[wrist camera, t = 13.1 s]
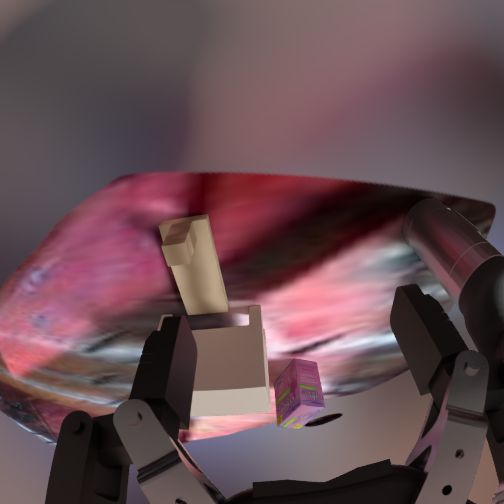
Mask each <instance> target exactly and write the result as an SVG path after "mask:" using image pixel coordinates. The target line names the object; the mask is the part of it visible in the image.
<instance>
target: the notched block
mask: <svg viewBox="0 0 504 504" xmlns="http://www.w3.org/2000/svg"><path fill="white" fill-rule="evenodd" d="M167 316H172V314H167V315H162V316H161V319H160V323H159V326H158V330H157V331H160V329H161V325H162V322H163V319H164V317H167ZM192 334H193V336H194V339H195V341H196V345H197V354H198V355H197V364H196V372H195V380H194V388H193V396H192V404H191V413H190V416H224V415H243V414H257V413H268V412H271V402H270V388H269V374H268V361H267V348H266V335H265V329H263V321H262V311H261V305H258V306H250V307H249V325H247V326H237V327H227V328H217V329H205V330H192Z"/></svg>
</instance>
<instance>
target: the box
mask: <svg viewBox="0 0 504 504" xmlns="http://www.w3.org/2000/svg"><path fill="white" fill-rule="evenodd" d="M274 388H275V399H276V414H277V426H278V427H285V428H298V429H299V428H301V427H303V426H304V425H305V424H306V423H308V422H309V421H310V420H311V419H312V418H313V417H315V416H316V415H317V414H318V413H319V412H321V411H322V410H323V409H324V408H325V403H324V398H323V392H322V387H321V382H320V377H319V372H318V367H317V363H316V362H311V361H306V360H301V359H294V360H293V361H292V363H291V364H290V365H289V366H288V368H287V369H286V370H285V371H284V372H283V374H282V375H281V376H280V377H279V378H278V380H277V381H276V382H275V383H274Z"/></svg>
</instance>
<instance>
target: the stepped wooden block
mask: <svg viewBox="0 0 504 504" xmlns="http://www.w3.org/2000/svg"><path fill="white" fill-rule="evenodd" d="M159 230H160V233H161V236H162V239H163V244H162V246H161V247H162V250H163V253H164V256H165V259H166V262H167V265H168V267H169V266H171V268H172V271H173V274H174V277H175V280H176V282H177V285H178V288H179V291H180V294H181V297H182V300H183V302H184V305H185V308H186V311H187V313H188V315H197V314H208V313H219V312H228V308H229V304H228V300H227V296H226V292H225V288H224V284H223V279H222V275H221V271H220V267H219V262H218V258H217V254H216V249H215V245H214V240H213V236H212V231H211V227H210V222H209V218H208V214H205V215H199V216H192V217H186V218H179V219H173V220H167V221H161V223H160V225H159Z"/></svg>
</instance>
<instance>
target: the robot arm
mask: <svg viewBox="0 0 504 504" xmlns="http://www.w3.org/2000/svg"><path fill="white" fill-rule="evenodd" d="M480 234H481V233H480V231H479V230H478V229H477V228H476V227H475V226H474V225H472V224H471V223H470V222H469V221H468V220H466V219H465V218H464V217H463V216H461V215H460V214H459V213H458V212H456V211H455V210H454V209H453V208H451V207H450V206H449V205H444V204H443V203H442V202H440V201H439V200H437V199H434V198H426V199H423V200H421V201H419V202H417V203H416V204H415V205H414V206H413V207H412V208H411V209H410V210H409V212H408V213H407V215H406V217H405V220H404V224H403V235H404V238H405V240H406V242H407V243H408V244H409V245H410V246H411V248H412V249H413V250H414V251H415V252H416V254H417V255H418V256H419V257H420V259H421V260H422V261H423V262H424V264H425V265H426V266H427V267H428V269H429V270H430V271H431V272H432V274H433V275H434V276H435V278H436V279H437V280H438V281H439V283H440V284H441V285H442V287H443V288H444V289H445V291H446V292H447V293H448V295H449V296H450V297H451V299H452V300H453V302H454V303H455V304H456V306H457V307H458V309H459V310H460V311H461V313H462V314H463V316H464V319H465V325H466V328H467V331H468V333H469V335H470V336H471V338H472V340H473V342H474V344H475V346H476V347H477V349H478V351H479V352H478V351H475V350H469V349H468V347H467V346H466V344H465V342H464V341H463V339H462V337H461V336H460V334H459V332H458V331H457V329H456V328H455V326H454V325H453V323H452V321H450V318H449V317H448V315H447V314H446V313H445V311H444V309H443V308H442V306H441V305H440V303H439V302H438V301H437V300H436V299H434V298H433V297H432V296H430V295H429V294H426V295H424V294H423V292H422V291H421V289H420V288H419V286H418V285H417V284H409V285H404V286H399V287H397V289H396V292H395V297H394V301H393V306H392V310H391V315H390V324H391V328H392V331H393V333H394V335H395V338H396V340H397V342H398V344H399V346H400V348H401V351H402V353H403V355H404V357H405V359H406V362H407V364H408V366H409V368H410V371H411V373H412V375H413V378H414V380H415V382H416V385H417V387H418V390H419V392H420V394H421V396H422V395H425V394H427V393H431V395H432V397H433V398H432V400H431V402H430V405H429V408H428V411H427V415H426V418H425V421H424V423H423V426H422V429H421V432H420V435H419V437H418V440H417V442H416V444H415V446H414V448H413V449H412V451H411V453H410V454H409V456H408V458H407V460H406V462H405V465H391V462H390V459H387V460H384V461H380V462H377V463H373V464H369V465H366V466H362V467H358V468H356V469H354V470H352V471H349V472H347V473H346V474H343V475H341V476H339V477H336V478H334V479H332V480H329V481H327V482H308V481H296V480H278V481H265V482H253V488H251V489H247V490H245V491H242V492H239V493H238V494H235V495H233V496H232V497H230V498H228V499H227V498H226V497H225V496H224V495H223V494H222V493H221V492H220V491H219V489H218V488H217V487H216V486H215V485H214V484H213V483H212V482H211V481H210V480H209V479H208V478H207V476H206V475H205V474H204V473H203V472H202V470H201V469H200V468H199V467H198V465H197V464H196V463H195V461H194V460H193V459H192V457H191V456H190V455H189V453H188V452H187V451H186V449H185V448H184V446H183V445H182V444H181V442H180V441H179V439H178V434H179V429H186V430H189V422H190V413H191V404H192V396H193V388H194V380H195V372H196V364H197V355H198V354H197V345H196V341H195V339H194V336H193V334H192V331H191V329H190V326H189V324H188V321H187V319H186V317H185V316H184V315H180V316H167V317H164V319H163V322H162V325H161V329H160V331H153V332H152V333H151V335H150V336H149V337H148V339H147V340H146V341H145V344H144V348H143V351H142V355H141V358H140V361H139V362H140V364H139V365H138V368H137V372H136V375H135V379H134V383H133V386H132V390H131V394H130V397H129V400H127V401H125V402H123V403H122V404H120V405H119V406H118V408H117V409H116V410H115V413H112V414H108V415H103V416H98V417H93V418H92V417H91V416H90V415H89V414H88V413H86V412H84V411H74V412H71V413H70V414H68V415H67V416H66V417H65V419H64V420H63V422H62V425H61V429H60V433H59V437H58V441H57V445H56V449H55V453H54V458H53V462H52V467H51V472H50V477H49V482H48V488H47V494H46V500H45V504H126V499H127V498H126V497H127V486H128V476H129V467H130V464H134V465H135V467H136V469H137V471H138V476H137V481H138V483H139V485H140V487H141V489H142V490H143V492H144V493H145V495H146V497H147V498H148V500H149V502H150V503H151V504H475V503H473V502H472V501H470V500H468V496H469V493H470V490H471V488H472V485H473V481H474V478H475V475H476V472H477V469H478V465H479V462H480V458H481V454H482V450H483V446H484V442H485V438H487V441H488V444H489V447H490V450H491V454H492V457H493V461H494V464H495V468H496V472H497V476H498V480H499V486H498V488H497V490H496V493H495V494H494V495H493V498H492V501H493V503H494V504H504V256H503V255H502V254H501V253H500V252H499V251H498V250H497V249H496V248H495V247H494V246H493V245H491V244H490V243H489V242H488V241H487V240H486V239H485V238H484V237H483V236H482V235H480Z"/></svg>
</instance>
